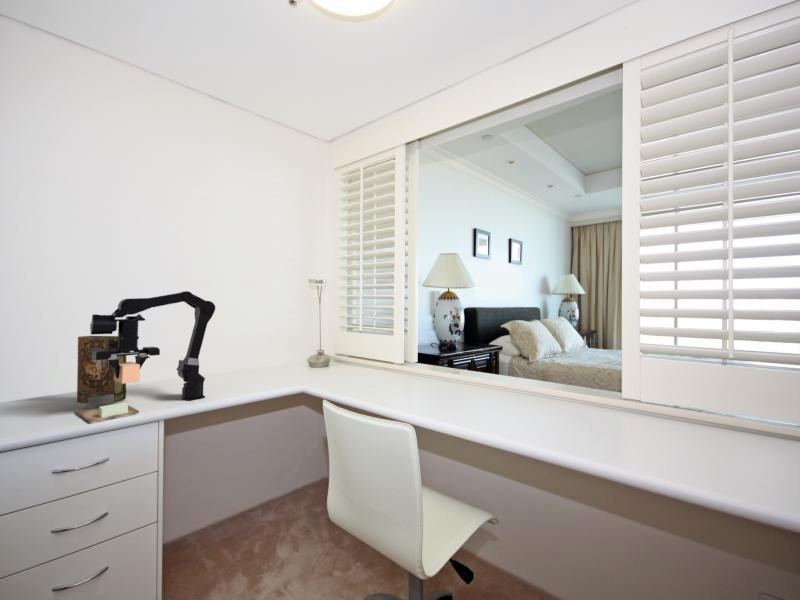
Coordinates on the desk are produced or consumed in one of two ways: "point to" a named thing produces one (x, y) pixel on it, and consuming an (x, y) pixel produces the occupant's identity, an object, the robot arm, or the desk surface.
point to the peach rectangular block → (128, 372)
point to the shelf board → (93, 414)
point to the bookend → (100, 401)
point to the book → (96, 371)
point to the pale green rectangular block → (113, 409)
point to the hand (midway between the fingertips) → (126, 377)
